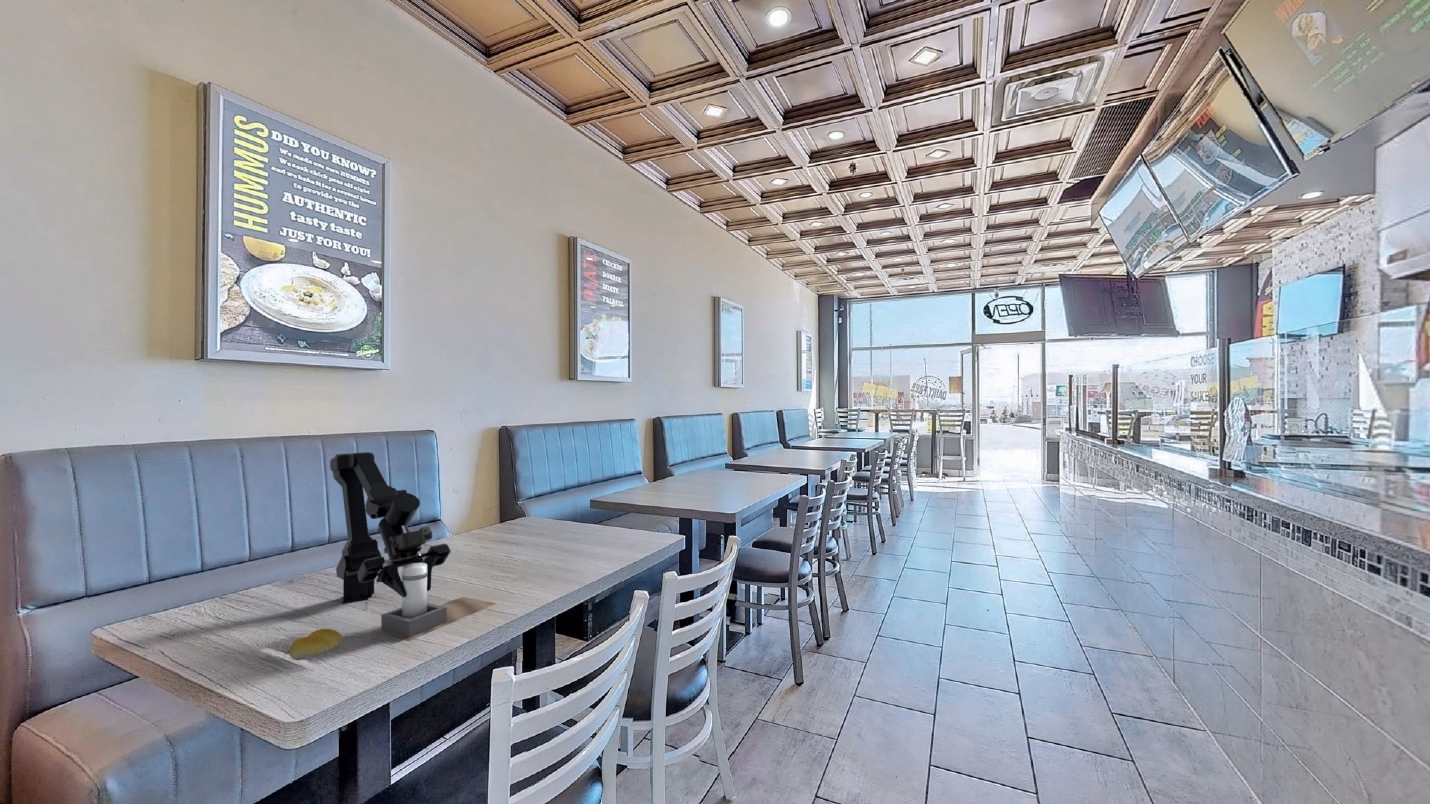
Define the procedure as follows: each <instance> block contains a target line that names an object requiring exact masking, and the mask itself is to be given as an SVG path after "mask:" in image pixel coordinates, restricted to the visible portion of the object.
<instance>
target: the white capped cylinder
mask: <svg viewBox="0 0 1430 804" xmlns="http://www.w3.org/2000/svg"><path fill="white" fill-rule="evenodd" d="M401 568H402V569H401V570H402V574H401V581H402V583H403V585H404V588H405V591H406V597H404V598H403V597H402V596H401V608H402V617H405V618H409V619H412V618H415V617H417V616H420V615H422V614H425V613H427V603H428V591H427V564H426V563H414V564H409V565H406V566H403V567H401Z"/></svg>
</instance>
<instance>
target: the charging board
mask: <svg viewBox="0 0 1430 804" xmlns="http://www.w3.org/2000/svg"><path fill="white" fill-rule="evenodd" d="M496 604H497V603H496V602H490V601H487V600H482V599H481V600H480V599H477V598H472V597H467V596H460V597H457V598H455V599H453V600H450V601H447V602H445V603H443V604H440V605H439V604H438V605H439V606H443V607H447V622H446V623H443V624H441V625H439V626H436V627H434V628H431V629H429V630H427V631H424V632H422V633H420V634H417V635H415V636H413V637H410V638H408V637H404V636H400V635H397V634H393V633H389V632H386V631H382V630H381V627H380V628H378V629H374V630H373V632H375V633H379V634H382V635H386V636H389V637H393V638H396V639H400V640H404V641H407V642H410V641H412V640H413V641H414V640H415V639H417V638H419V637H422V636H424V635H426V634H428V633H430V632H431V633H432V632H433V631H436V630H438V629H440V628H443V627H444V626H448V625H450V624H453V623H454V622H457V621H459V620H461V619H464V618H465V617H468V616H471V615H473V614H475V613H477V612H480V611H482V610H484V609H487V608H489V607H492V606H494V605H496Z"/></svg>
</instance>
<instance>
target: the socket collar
mask: <svg viewBox="0 0 1430 804" xmlns="http://www.w3.org/2000/svg"><path fill="white" fill-rule="evenodd" d="M446 622H447V607H443V606H439V604H438V605H437V604H434V603H430V602H427V613H425V614H422V615H420V616H417V617H415V618H412V619H409V618H405V617H402V607H399V608H397V609H394V610H391V611H389V612H386V613H382V614H381V620H380V624H381V625H380V628H381V630H382V631H386V632H389V633H393V634H397V635H400V636H404V637H408V638H410V637H413V636H415V635H417V634H420V633H422V632H424V631H427V630H429V629H431V628H434V627H436V626H439V625H441V624H443V623H446Z"/></svg>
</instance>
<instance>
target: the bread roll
mask: <svg viewBox="0 0 1430 804" xmlns="http://www.w3.org/2000/svg"><path fill="white" fill-rule="evenodd" d="M343 643H344V638H343V636H342V634H341V633H340V632H339V631H338V630H335V629H333V628H332V629H331V628H320V629H317V630H314V631H312V632H311V633H309V634H308V635H307V636H304V637H301V638H299V639H297V640H295V641H294V642H293V643H292V644H291V645H290V647H289V649H288V654H289V657H291V659H292V660H294V659H295V660H294V661H302V660H301V659H303V657H313V656H317V655H320V654H321V655H322V654H324V653H328V652H330V651H333V650H334V649H336V648H337V647H339V646H341V645H342V644H343Z"/></svg>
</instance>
